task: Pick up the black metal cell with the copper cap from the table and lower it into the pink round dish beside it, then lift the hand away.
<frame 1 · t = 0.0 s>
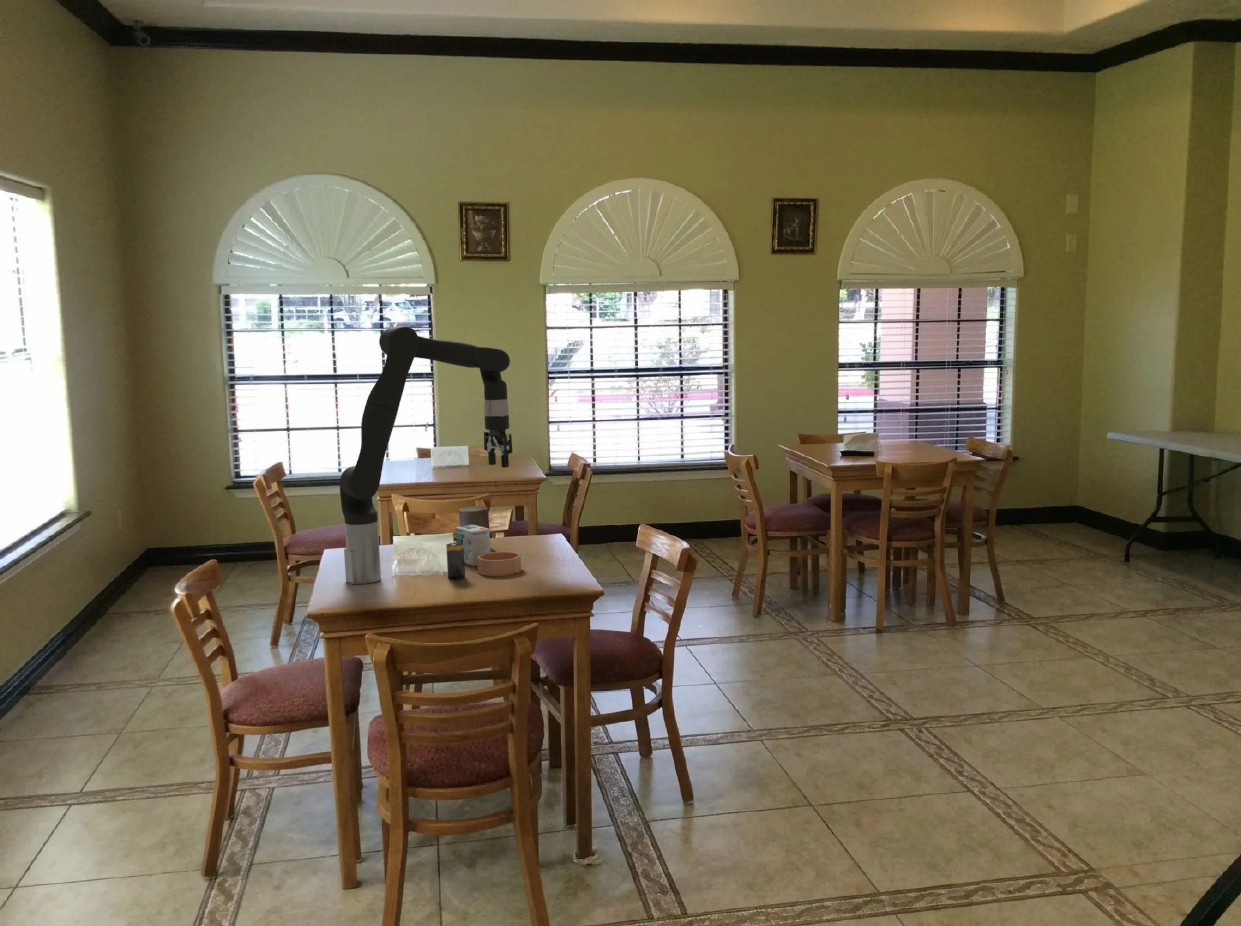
hand: (498, 466, 315), 29 cm above the table, tool pointing down, fingers open, 8 cm apart
pink round dish: (499, 570, 302), on the table
light bulb box: (474, 562, 316), on the table
black cell: (456, 578, 294), on the table
pillar candle: (475, 549, 334), on the table
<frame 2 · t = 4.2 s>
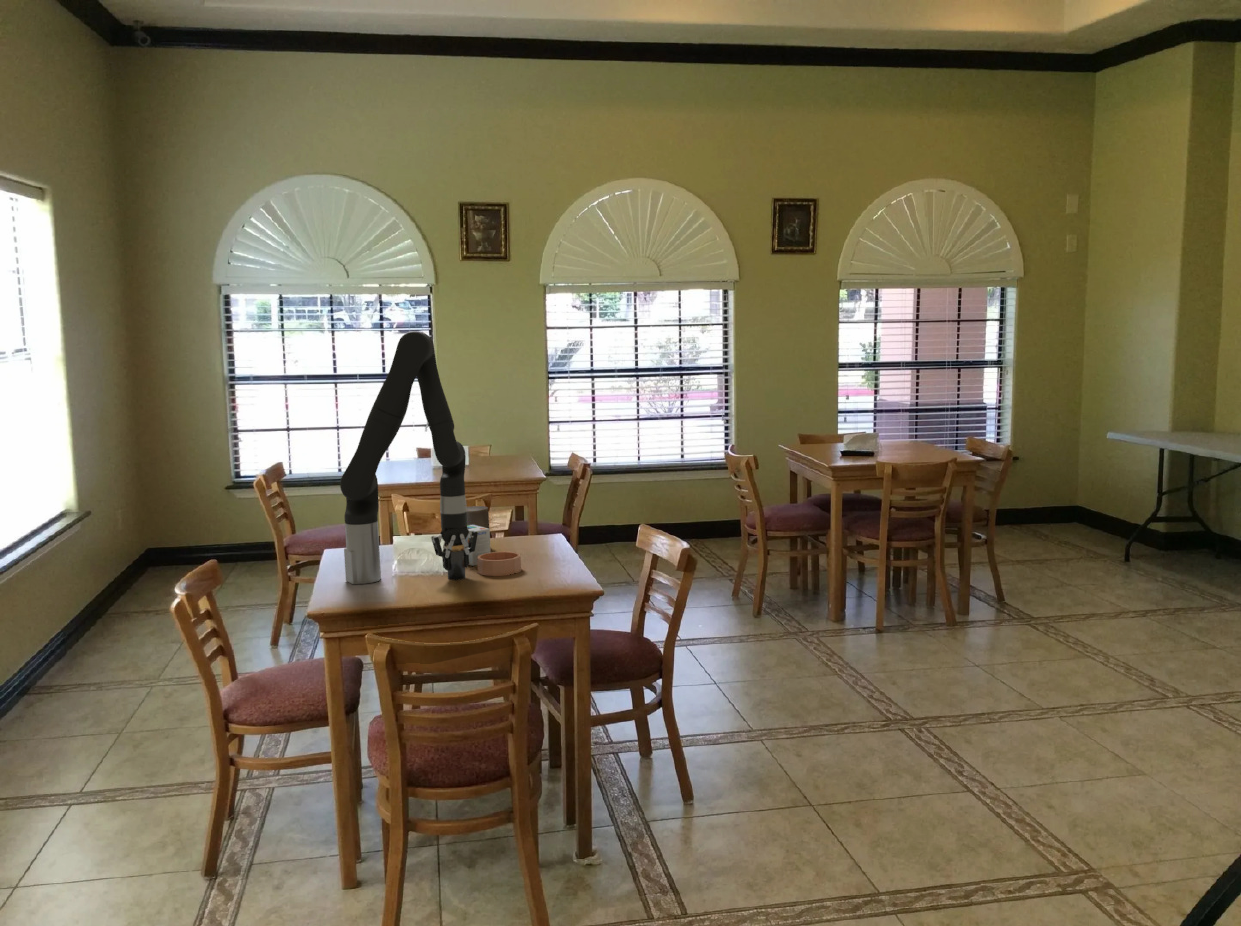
hand: (456, 568, 293), 3 cm above the table, tool pointing down, fingers closed on black cell, 5 cm apart
black cell: (456, 578, 294), on the table, touching gripper
everything else where it was.
when the fingers open (6 cm above the table, at t = 10.4 s): black cell drops 2 cm, resting on pink round dish.
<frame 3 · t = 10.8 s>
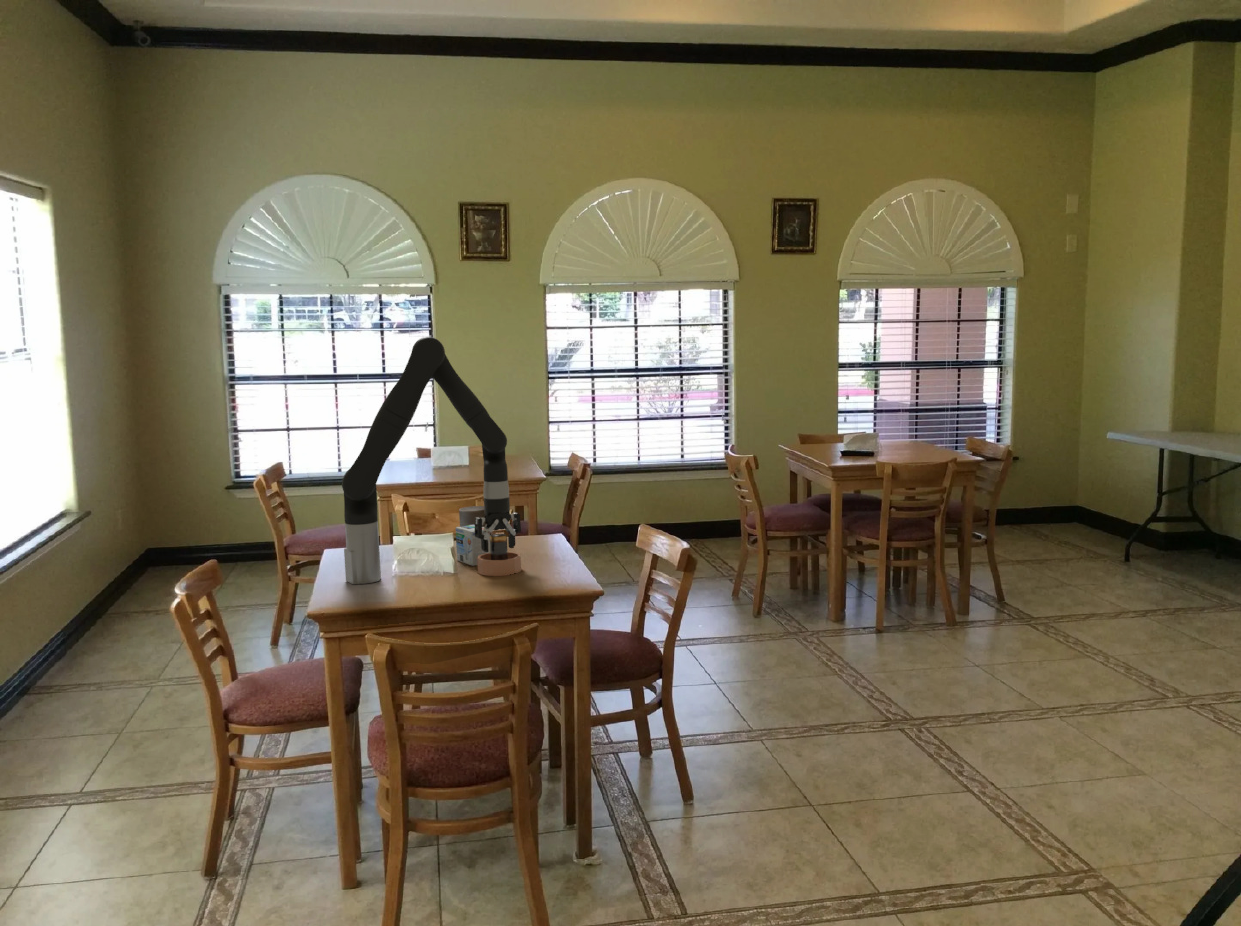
hand: (498, 549, 301), 6 cm above the table, tool pointing down, fingers open, 8 cm apart
black cell: (499, 568, 301), point 1 cm above the table, touching pink round dish
everything else where it was.
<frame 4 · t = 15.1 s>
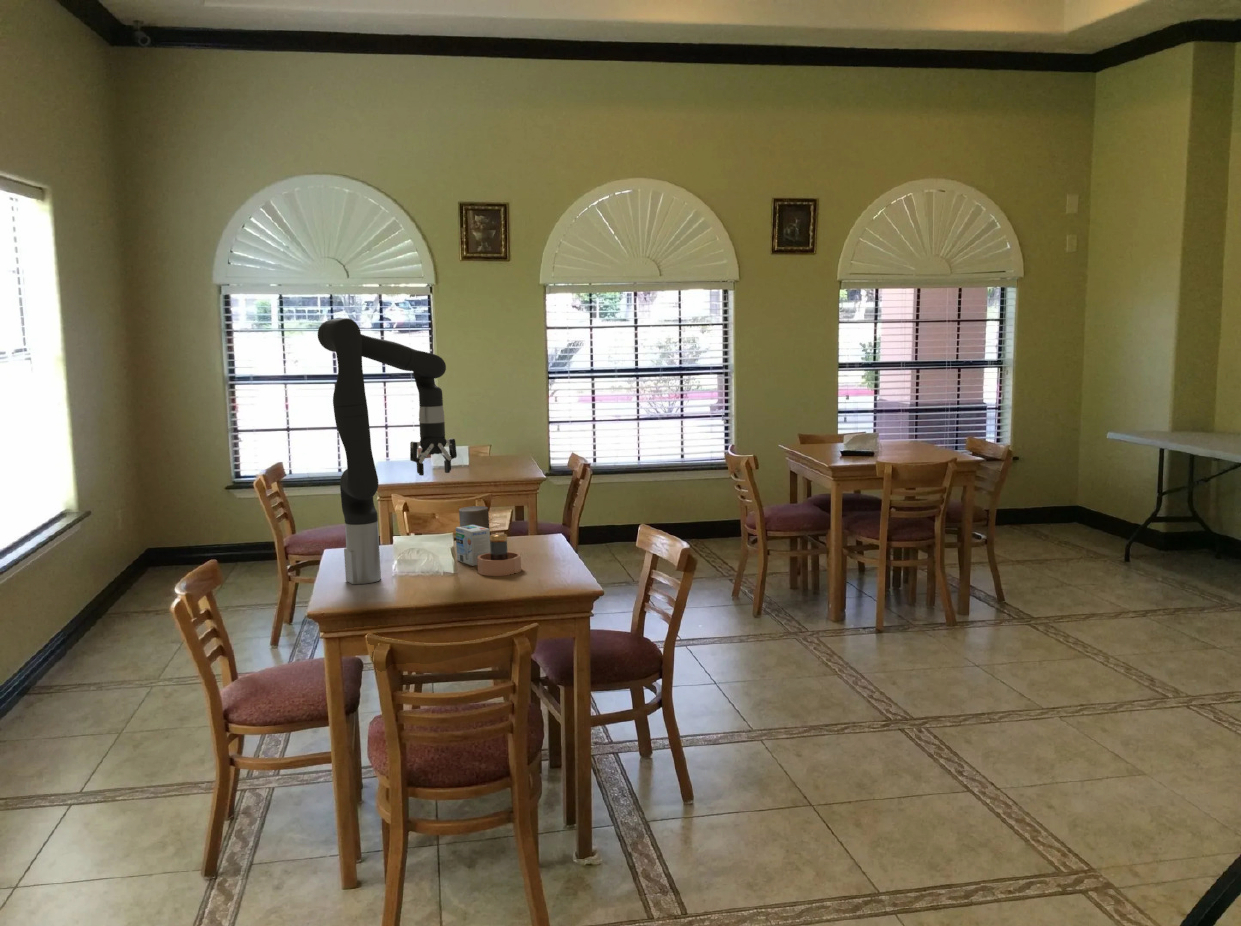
hand: (434, 474, 310), 28 cm above the table, tool pointing down, fingers open, 8 cm apart
nothing on the table moved.
at the end: black cell 0.0 cm off-centre on the pink round dish, point 0.8 cm above the pink round dish's base; the gripper is holding nothing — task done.
